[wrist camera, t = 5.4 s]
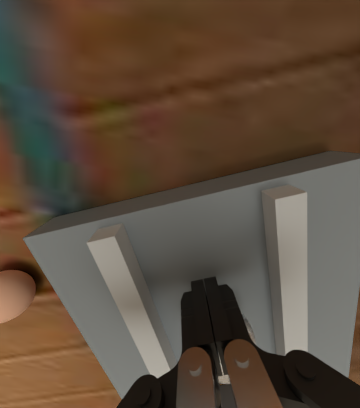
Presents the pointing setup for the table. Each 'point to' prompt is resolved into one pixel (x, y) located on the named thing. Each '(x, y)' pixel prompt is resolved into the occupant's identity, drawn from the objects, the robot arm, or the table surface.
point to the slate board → (214, 264)
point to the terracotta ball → (15, 293)
